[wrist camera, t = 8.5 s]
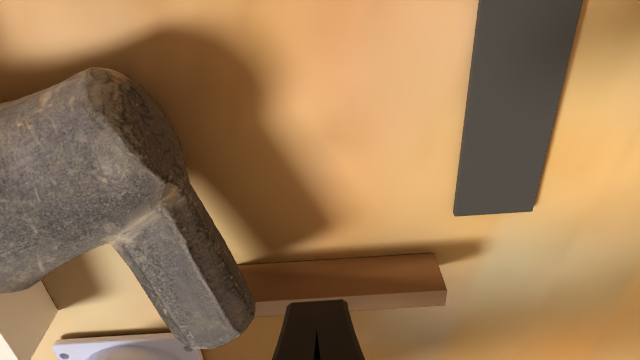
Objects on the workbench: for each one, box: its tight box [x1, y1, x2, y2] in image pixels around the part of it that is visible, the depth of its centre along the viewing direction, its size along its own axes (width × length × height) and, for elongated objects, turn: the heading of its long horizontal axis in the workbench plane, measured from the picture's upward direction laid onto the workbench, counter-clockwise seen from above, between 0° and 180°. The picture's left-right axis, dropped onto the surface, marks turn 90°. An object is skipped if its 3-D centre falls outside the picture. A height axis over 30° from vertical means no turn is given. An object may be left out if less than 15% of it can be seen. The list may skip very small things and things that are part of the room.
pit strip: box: [453, 0, 583, 216], centre depth 19 cm, size 10×4×1 cm, turn 4°
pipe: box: [0, 67, 256, 349], centre depth 18 cm, size 6×13×8 cm
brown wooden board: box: [237, 253, 447, 317], centre depth 18 cm, size 17×10×2 cm, turn 4°
